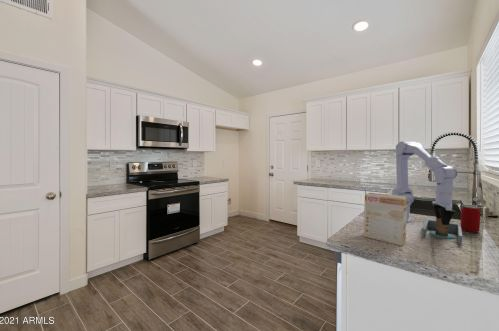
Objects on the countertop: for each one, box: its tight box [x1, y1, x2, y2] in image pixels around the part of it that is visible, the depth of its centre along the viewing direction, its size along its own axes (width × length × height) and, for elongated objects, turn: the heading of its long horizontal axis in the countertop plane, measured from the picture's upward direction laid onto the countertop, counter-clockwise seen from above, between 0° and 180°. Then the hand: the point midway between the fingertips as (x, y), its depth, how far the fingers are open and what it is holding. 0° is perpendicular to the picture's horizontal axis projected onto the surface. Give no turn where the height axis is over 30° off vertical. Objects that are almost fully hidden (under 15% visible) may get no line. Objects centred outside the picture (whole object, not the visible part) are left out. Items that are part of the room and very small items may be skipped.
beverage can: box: [460, 204, 482, 234], centre depth 112 cm, size 7×7×12 cm
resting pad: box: [429, 230, 456, 240], centre depth 106 cm, size 9×9×1 cm
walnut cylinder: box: [435, 217, 449, 236], centre depth 106 cm, size 4×4×7 cm
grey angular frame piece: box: [421, 218, 463, 246], centre depth 106 cm, size 20×13×4 cm, turn 139°
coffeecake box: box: [363, 192, 407, 247], centre depth 101 cm, size 15×7×20 cm, turn 45°
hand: (442, 222), depth 106 cm, fingers open, 7 cm apart
